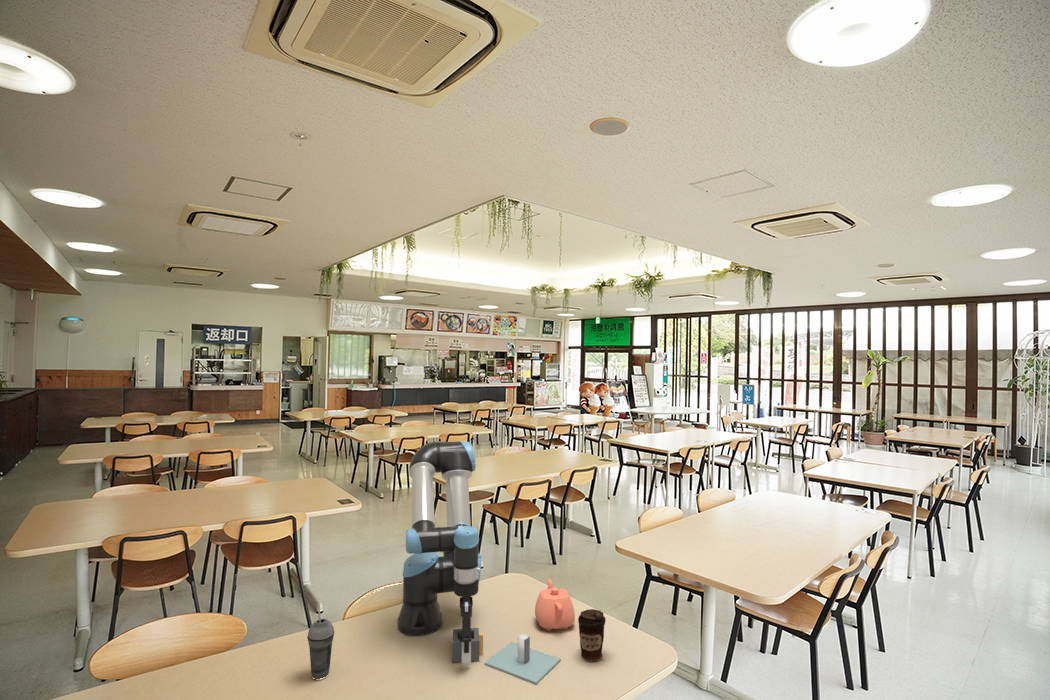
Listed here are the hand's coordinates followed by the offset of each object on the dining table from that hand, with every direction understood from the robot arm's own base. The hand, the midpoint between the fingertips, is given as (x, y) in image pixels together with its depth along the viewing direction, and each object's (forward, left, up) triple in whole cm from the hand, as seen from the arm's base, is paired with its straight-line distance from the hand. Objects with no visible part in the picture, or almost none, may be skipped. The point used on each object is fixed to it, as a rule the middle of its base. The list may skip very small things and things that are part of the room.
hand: (465, 650), depth 159 cm
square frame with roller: (0, 0, -2) cm, 2 cm away
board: (+17, +6, -2) cm, 18 cm away
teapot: (+13, +32, -2) cm, 35 cm away
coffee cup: (+33, +20, -2) cm, 39 cm away
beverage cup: (-28, -31, -2) cm, 42 cm away
